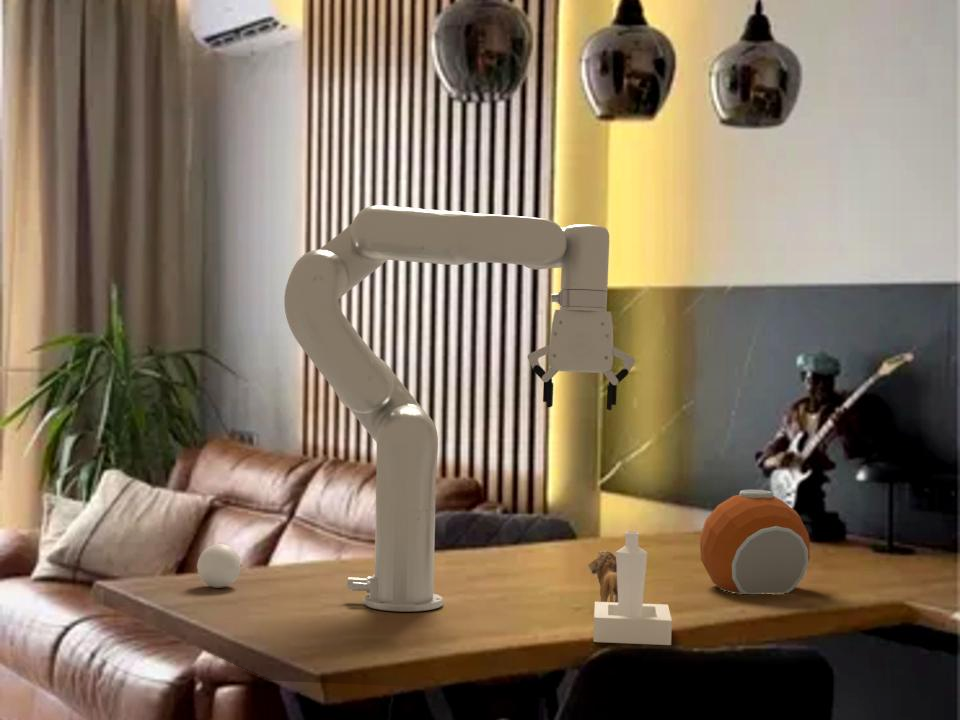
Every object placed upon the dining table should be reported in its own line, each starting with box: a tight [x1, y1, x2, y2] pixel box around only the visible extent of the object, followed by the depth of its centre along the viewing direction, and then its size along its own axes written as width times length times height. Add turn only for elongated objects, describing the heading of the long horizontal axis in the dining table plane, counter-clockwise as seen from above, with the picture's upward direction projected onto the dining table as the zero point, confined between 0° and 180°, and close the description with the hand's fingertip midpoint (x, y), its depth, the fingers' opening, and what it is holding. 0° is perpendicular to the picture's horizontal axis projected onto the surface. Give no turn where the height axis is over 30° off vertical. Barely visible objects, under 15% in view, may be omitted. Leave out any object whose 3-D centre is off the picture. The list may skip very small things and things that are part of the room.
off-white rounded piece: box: [196, 543, 243, 589], centre depth 235 cm, size 10×7×7 cm
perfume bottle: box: [615, 531, 648, 617], centre depth 204 cm, size 5×4×15 cm
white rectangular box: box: [593, 601, 673, 646], centre depth 204 cm, size 11×12×4 cm
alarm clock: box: [699, 489, 811, 595], centre depth 244 cm, size 19×18×17 cm
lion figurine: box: [587, 550, 618, 603], centre depth 220 cm, size 15×5×9 cm, turn 7°
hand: (579, 408), depth 224 cm, fingers open, 9 cm apart
